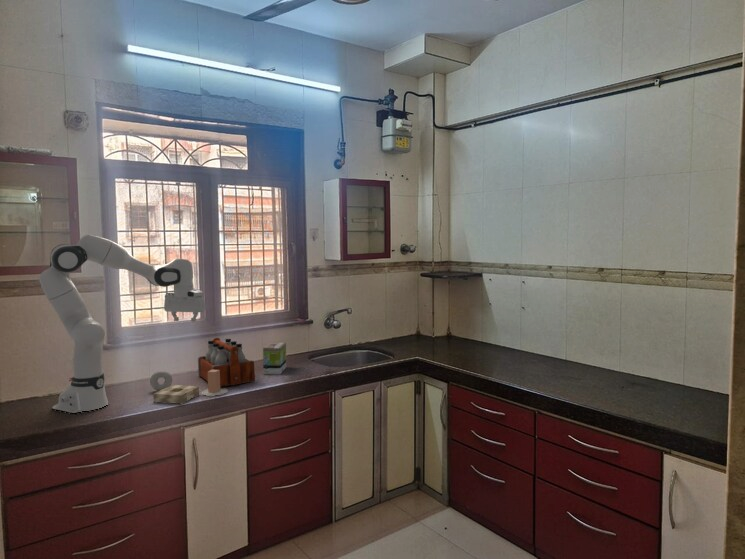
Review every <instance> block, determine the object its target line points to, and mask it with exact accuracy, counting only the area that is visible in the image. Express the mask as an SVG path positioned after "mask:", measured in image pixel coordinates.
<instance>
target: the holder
mask: <svg viewBox="0 0 745 559" xmlns="http://www.w3.org/2000/svg"><path fill="white" fill-rule="evenodd" d="M197 395H198V396H200V386H196V385H195V386H193V385H180V384H179V385H178V384H171V386H169V387H167V388H165V389H163V390H160V391H155V392H154V393H153V395H152V396H153V403H157V402H166V403H165V404H169V403H180V404H179V405H182V404H181V403H183V404H184V402H185V403H187V402H188V400H189V401H191V400H192V399H191V398H193V397H195V396H196V397H198V396H197ZM196 397H195V398H196ZM190 399H191V400H190ZM193 399H194V398H193ZM186 401H187V402H186Z"/></svg>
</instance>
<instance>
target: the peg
mask: <svg viewBox="0 0 745 559" xmlns="http://www.w3.org/2000/svg"><path fill="white" fill-rule="evenodd" d="M220 388H221V387H220V370H210V371H208V381H207V389H208V392H211V393H217V392H218V391H220Z"/></svg>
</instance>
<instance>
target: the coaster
mask: <svg viewBox="0 0 745 559" xmlns="http://www.w3.org/2000/svg"><path fill="white" fill-rule="evenodd" d="M227 391H228V389H227V388H225V387H220V391H218V392H217V393H211V392H208V388H206V389H204V390H202V391H201V393H200V394H201V396H203V395H206V396H205V397H216V396H215V395H220V396H222V395H221V394H223V395H225V394H224V393H226V392H227ZM227 393H228V392H227ZM227 393H226V394H227Z"/></svg>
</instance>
